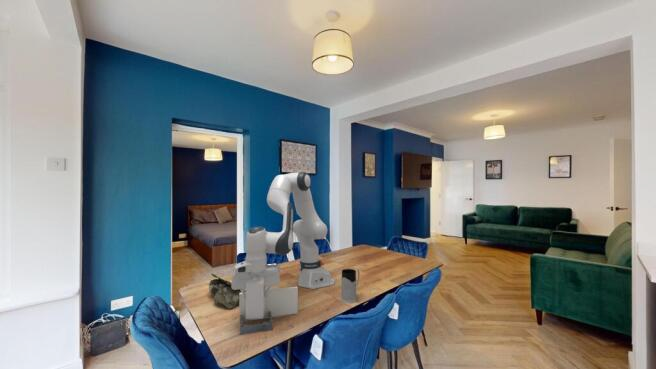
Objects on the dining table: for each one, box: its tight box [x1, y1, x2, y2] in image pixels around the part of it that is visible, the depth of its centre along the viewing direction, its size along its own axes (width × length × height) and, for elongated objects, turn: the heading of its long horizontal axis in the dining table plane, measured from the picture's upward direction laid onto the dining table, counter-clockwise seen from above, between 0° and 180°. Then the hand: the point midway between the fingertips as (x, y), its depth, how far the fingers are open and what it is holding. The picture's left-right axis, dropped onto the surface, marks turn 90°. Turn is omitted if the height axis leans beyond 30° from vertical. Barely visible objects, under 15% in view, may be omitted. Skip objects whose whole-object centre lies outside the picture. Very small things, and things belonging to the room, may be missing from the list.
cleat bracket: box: [239, 311, 274, 336], centre depth 114 cm, size 13×10×3 cm
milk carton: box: [245, 275, 267, 320], centre depth 115 cm, size 7×7×19 cm
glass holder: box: [340, 268, 360, 304], centre depth 142 cm, size 9×14×15 cm, turn 140°
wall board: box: [238, 286, 299, 323], centre depth 122 cm, size 26×2×12 cm, turn 107°
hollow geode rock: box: [208, 273, 246, 309], centre depth 139 cm, size 28×13×15 cm
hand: (256, 297), depth 115 cm, fingers closed on milk carton, 7 cm apart
